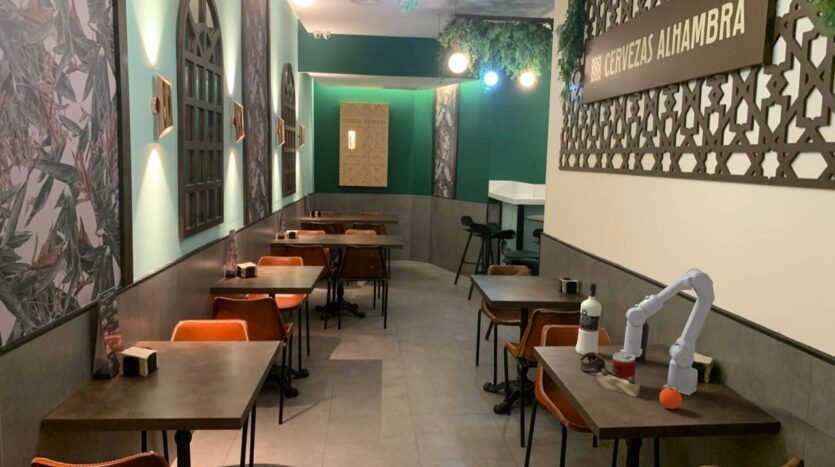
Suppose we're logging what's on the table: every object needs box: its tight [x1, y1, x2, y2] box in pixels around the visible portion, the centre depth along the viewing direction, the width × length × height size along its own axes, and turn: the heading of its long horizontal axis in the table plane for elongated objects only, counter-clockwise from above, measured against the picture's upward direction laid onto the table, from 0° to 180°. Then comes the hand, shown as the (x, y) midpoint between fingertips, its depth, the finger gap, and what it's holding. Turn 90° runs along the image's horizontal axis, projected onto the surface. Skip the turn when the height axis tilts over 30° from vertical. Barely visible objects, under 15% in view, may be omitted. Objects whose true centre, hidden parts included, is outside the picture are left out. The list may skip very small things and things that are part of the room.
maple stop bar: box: [594, 368, 641, 398], centre depth 222 cm, size 15×3×6 cm, turn 48°
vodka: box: [575, 282, 602, 356], centre depth 262 cm, size 9×9×30 cm
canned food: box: [612, 351, 636, 381], centre depth 225 cm, size 8×8×11 cm
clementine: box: [658, 387, 683, 410], centre depth 208 cm, size 8×7×7 cm
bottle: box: [636, 317, 650, 363], centre depth 257 cm, size 7×7×20 cm
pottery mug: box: [579, 352, 607, 371], centre depth 242 cm, size 12×10×8 cm
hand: (628, 376), depth 230 cm, fingers closed, pressing on canned food
